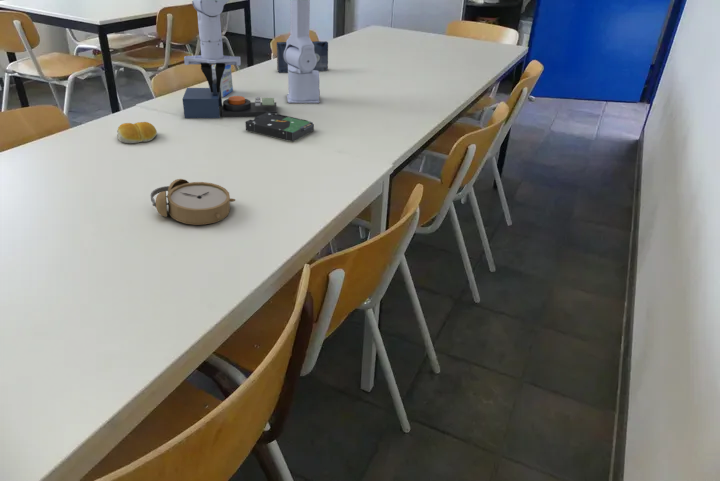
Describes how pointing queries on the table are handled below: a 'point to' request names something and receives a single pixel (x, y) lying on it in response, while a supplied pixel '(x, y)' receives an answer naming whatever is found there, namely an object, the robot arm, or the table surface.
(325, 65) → the vhs cassette tape
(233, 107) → the control panel
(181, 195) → the alarm clock
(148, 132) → the bread roll
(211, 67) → the robot arm
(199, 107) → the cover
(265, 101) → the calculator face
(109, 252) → the table surface
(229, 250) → the table surface
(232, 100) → the equals key
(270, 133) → the disk drive
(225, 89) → the medicine box
